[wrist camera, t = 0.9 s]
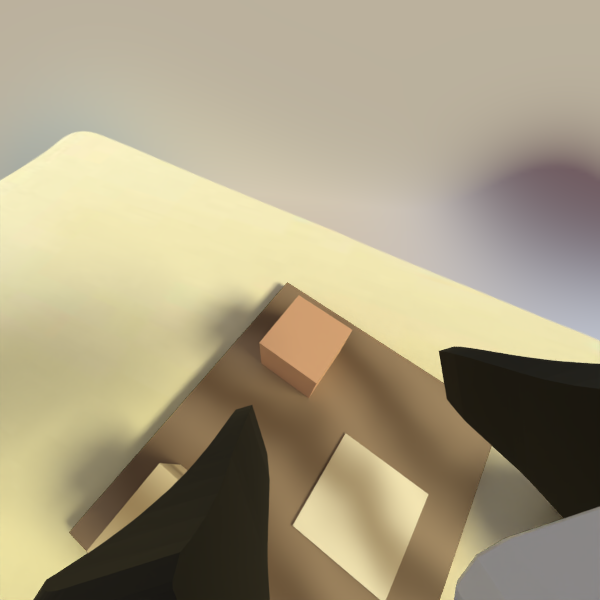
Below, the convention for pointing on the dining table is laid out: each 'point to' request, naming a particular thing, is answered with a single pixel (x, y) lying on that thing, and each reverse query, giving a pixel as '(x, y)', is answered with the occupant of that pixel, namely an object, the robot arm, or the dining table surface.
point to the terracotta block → (303, 345)
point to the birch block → (142, 499)
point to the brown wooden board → (333, 467)
